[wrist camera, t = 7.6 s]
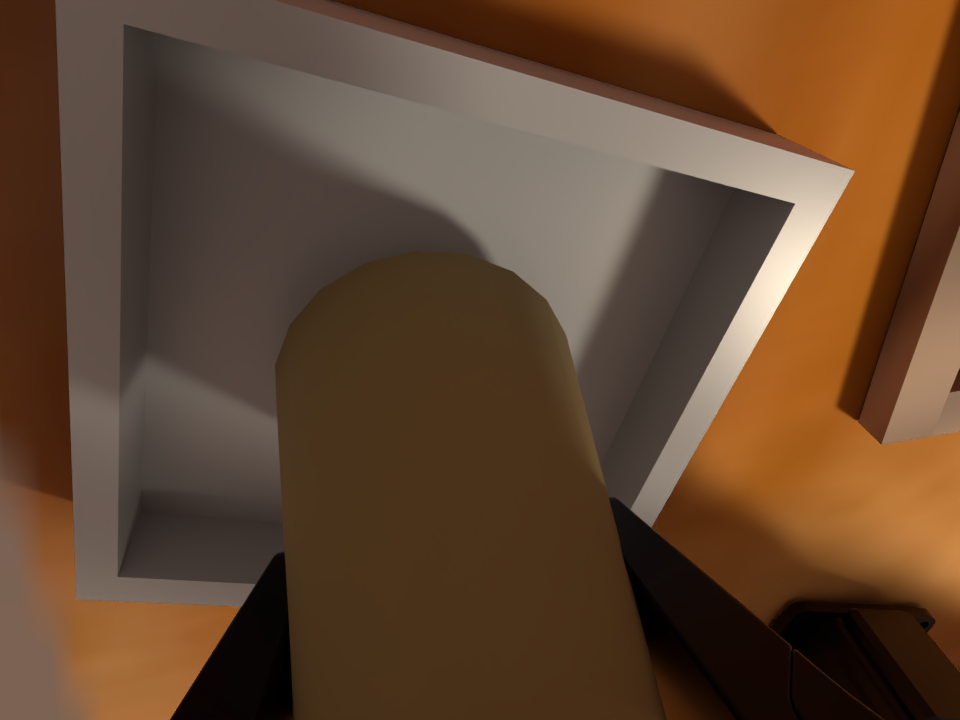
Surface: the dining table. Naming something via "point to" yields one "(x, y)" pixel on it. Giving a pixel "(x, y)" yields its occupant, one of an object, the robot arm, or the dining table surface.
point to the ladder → (924, 327)
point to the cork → (448, 507)
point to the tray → (374, 250)
